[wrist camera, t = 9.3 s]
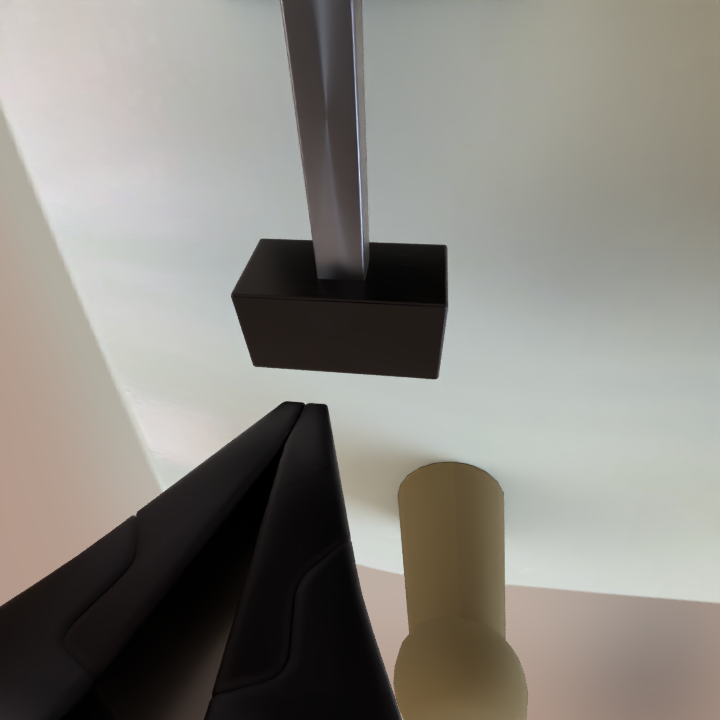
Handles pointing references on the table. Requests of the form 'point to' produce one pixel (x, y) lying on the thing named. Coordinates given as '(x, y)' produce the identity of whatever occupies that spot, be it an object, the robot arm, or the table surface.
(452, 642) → the cork
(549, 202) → the table surface
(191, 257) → the table surface
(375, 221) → the table surface
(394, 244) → the lever
